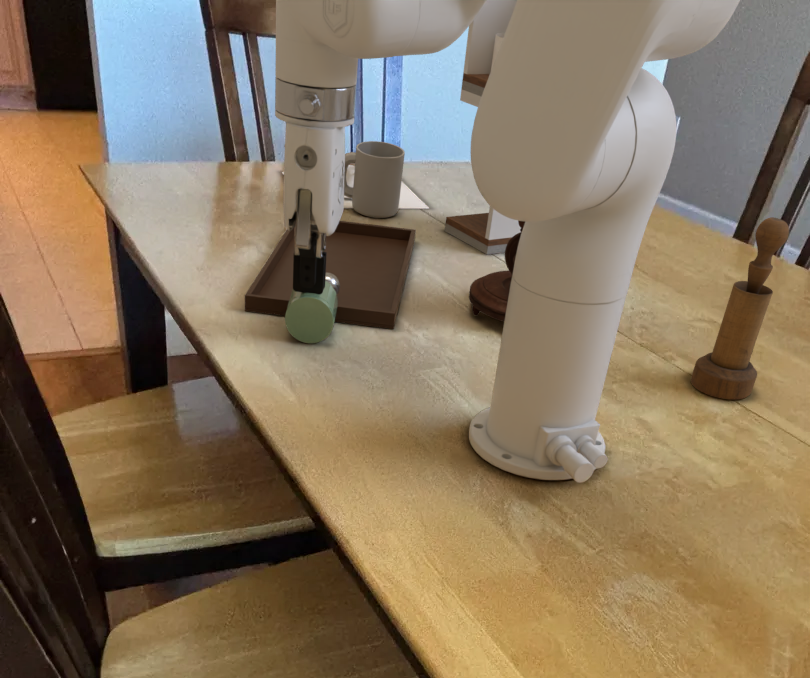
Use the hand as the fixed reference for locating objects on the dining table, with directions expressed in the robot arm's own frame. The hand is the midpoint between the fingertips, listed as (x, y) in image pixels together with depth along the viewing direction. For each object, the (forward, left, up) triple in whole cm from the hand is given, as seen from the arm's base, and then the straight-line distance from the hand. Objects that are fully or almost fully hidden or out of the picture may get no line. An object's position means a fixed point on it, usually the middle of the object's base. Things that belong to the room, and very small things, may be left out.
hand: (308, 289), depth 93 cm
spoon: (0, 0, -5) cm, 5 cm away
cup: (+42, -23, -5) cm, 49 cm away
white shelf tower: (+27, -38, -5) cm, 47 cm away
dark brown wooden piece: (0, -28, -5) cm, 29 cm away
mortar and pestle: (-22, -40, -5) cm, 46 cm away
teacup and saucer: (+53, -25, -5) cm, 59 cm away
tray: (+17, -10, -5) cm, 21 cm away
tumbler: (-2, +1, -3) cm, 3 cm away
